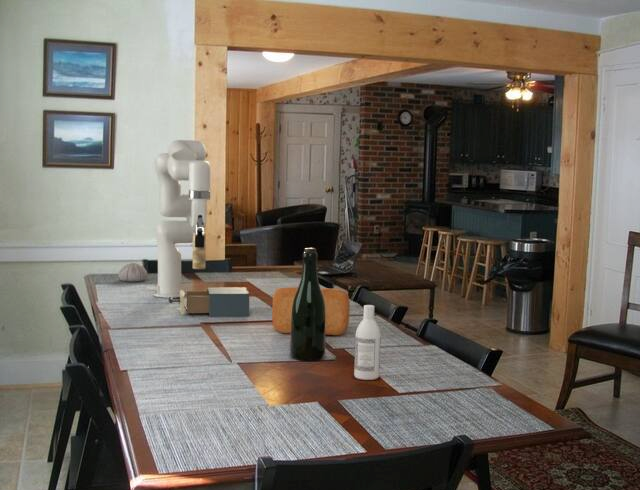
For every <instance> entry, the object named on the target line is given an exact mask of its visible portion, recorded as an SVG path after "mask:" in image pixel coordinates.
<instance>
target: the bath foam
mask: <svg viewBox="0 0 640 490" xmlns="http://www.w3.org/2000/svg"><path fill="white" fill-rule="evenodd" d="M381 344H382V334H381V328H380V327H379V325H378V323H377V321H376V319H375V305H373V304H365V305H363V317H362V320H361V321H360V323H359V324H358V326H357V327H356V331H355V338H354V363H353V365H354V366H353V368H354V369H353V370H354V371H353V375H354V378H355V379H358V380H362V381H374V380H378V379H379V378H380V368H381Z"/></svg>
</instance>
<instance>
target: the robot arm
mask: <svg viewBox="0 0 640 490" xmlns="http://www.w3.org/2000/svg"><path fill="white" fill-rule="evenodd" d="M206 156H207V149H206V146H205V144H204V143H203V142H202V141H200V140H191V139H175V140H173V141H171V142H170V143H169V144H168V146H167V152H165V153H164V152H163V153H159V154H157V155H156V156H155V158H154V170H155V173H156V176H157V180H158V183H159V191H158V192H159V194H158V195H159V196H158V198H159V201H158V203H159V205H158V206H159V213H160V215H161V216H162V217H165V218H186V220H176V219H175V220H174V219H173V220H171V219H170V220H167V219H166V220H161V221H159V222H158V223H156V225H155V237H156V244H157V245H156V247H157V283H156V285H154V286H151V285H146V291H147V292H153V296H154V297H157V298H161V299H162V298H164V299H169V297H172V298H180V290H182V252H181V250H179V248H178V247H177V246H176V245H177V244H193V232H196V236H195V247H204V232H205V229H204V228H206V227H207V226H206V225H207V215H208V213H207V212H208V209H207V207H208V201H210V200H211V163H210V162H209V161H206ZM181 181H188V193H187V194H185V193H183V194H182V191H181V190H182V189H181V188H182V186H181V185H182V183H181ZM184 296H186V292H184Z"/></svg>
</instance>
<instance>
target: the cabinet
mask: <svg viewBox="0 0 640 490" xmlns="http://www.w3.org/2000/svg"><path fill="white" fill-rule="evenodd" d="M206 291H208V293H209V313H207V314H208V317H209V318H219V317H220V318H222V317H225V318H227V317H250V292H249V290H248V289H247V287H245V286H244V287H243V286H240V287H239V286H236V287H235V286H234V287H233V286H232V287H229V286H228V287H221V286H220V287H213V286H212V287H211V286H210V287H208V286H207V287H206Z"/></svg>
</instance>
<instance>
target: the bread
mask: <svg viewBox="0 0 640 490" xmlns="http://www.w3.org/2000/svg"><path fill="white" fill-rule="evenodd" d="M298 287H299V286H288V287H287V286H286V287H280V288H278V289H276V290H275V291H274V292H273V295H272V308H271V309H272V312H271V322H272V326H273V328H274V330H275V331H277V332H279V333H283V334H291V316H292V304H293V300H294V297H295V294H296V292H297V289H298ZM320 289H321V292H322V294H323V297H324V302H325V315H326V319H325V336H342V335H343V334H344V333H345V332H346V331H347V329H348V327H349V322H350V310H351V309H350V307H351V305H350V302H351V301H350V297H349V295H348V293H347V292H346V291H345V290H343V289H341V288H327V287H320Z"/></svg>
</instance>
